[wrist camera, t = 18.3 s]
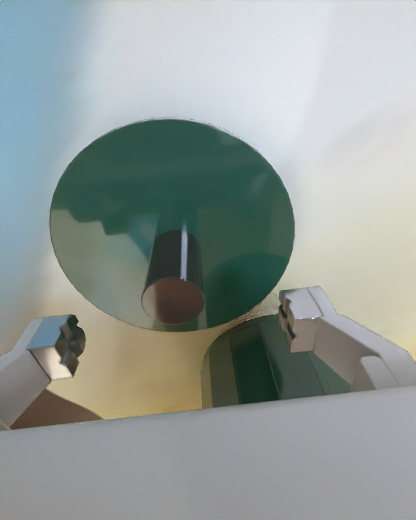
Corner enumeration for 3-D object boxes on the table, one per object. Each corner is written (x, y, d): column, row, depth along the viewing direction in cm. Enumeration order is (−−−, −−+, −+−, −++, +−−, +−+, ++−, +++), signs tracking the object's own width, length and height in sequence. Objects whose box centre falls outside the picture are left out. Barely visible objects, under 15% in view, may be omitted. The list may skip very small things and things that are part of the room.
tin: (155, 392, 24) (136, 573, 15) (306, 261, 17) (429, 457, 8) (251, 426, 28) (279, 582, 20) (402, 334, 21) (546, 511, 13)
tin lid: (22, 259, 16) (-40, 328, 11) (137, 41, 11) (102, 18, 6) (197, 342, 21) (200, 413, 16) (334, 220, 16) (390, 276, 11)
